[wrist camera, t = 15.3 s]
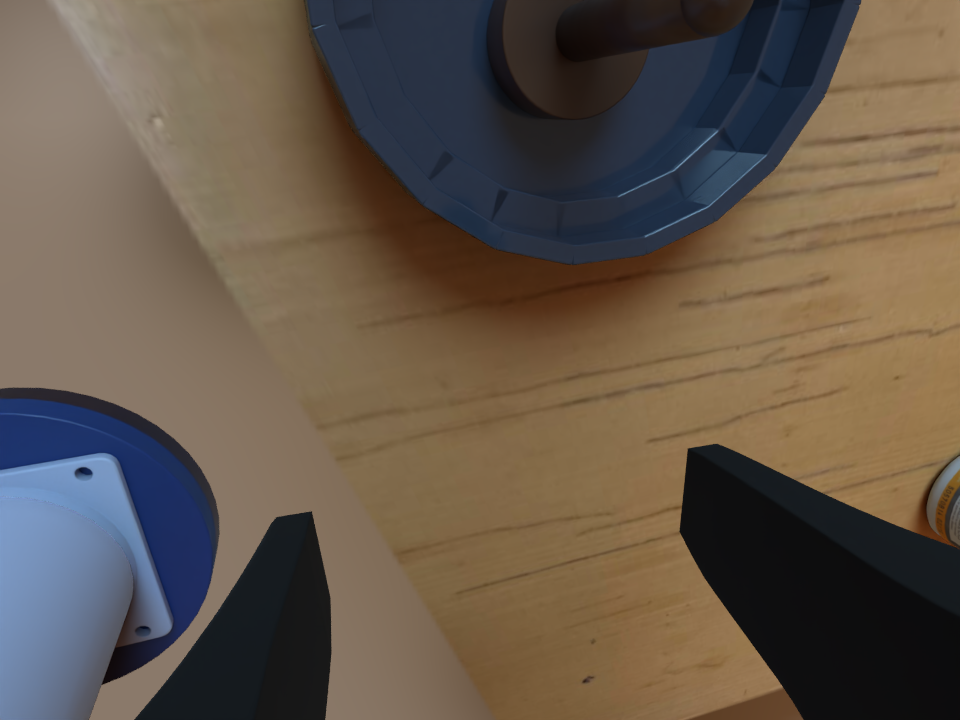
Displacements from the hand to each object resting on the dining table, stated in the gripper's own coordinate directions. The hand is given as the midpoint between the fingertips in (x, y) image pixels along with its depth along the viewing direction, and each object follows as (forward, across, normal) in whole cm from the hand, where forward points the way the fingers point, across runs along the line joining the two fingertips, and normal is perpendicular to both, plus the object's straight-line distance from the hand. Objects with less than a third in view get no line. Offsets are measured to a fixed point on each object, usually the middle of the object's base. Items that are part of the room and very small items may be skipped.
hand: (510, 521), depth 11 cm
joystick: (+10, -4, -8) cm, 14 cm away
